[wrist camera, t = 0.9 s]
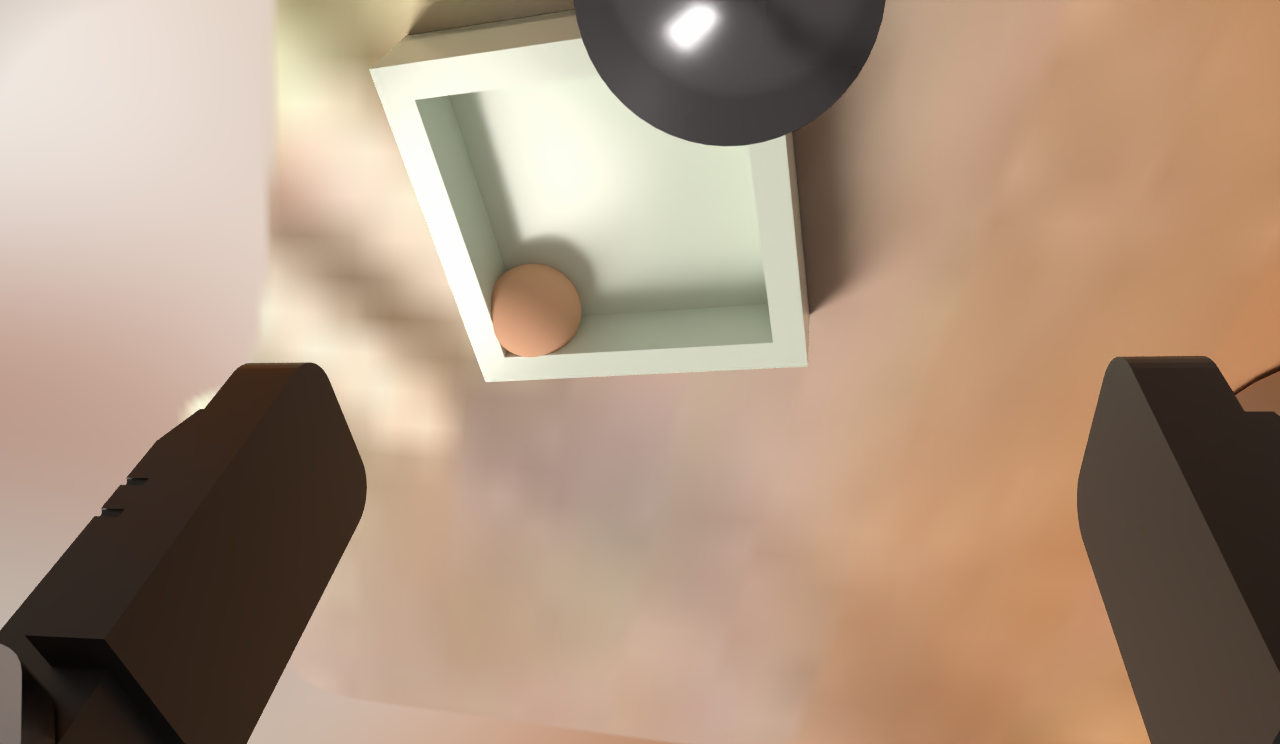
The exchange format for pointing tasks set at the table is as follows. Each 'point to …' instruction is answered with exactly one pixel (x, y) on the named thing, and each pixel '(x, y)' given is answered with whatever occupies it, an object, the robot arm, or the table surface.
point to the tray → (594, 207)
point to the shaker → (728, 61)
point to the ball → (534, 310)
